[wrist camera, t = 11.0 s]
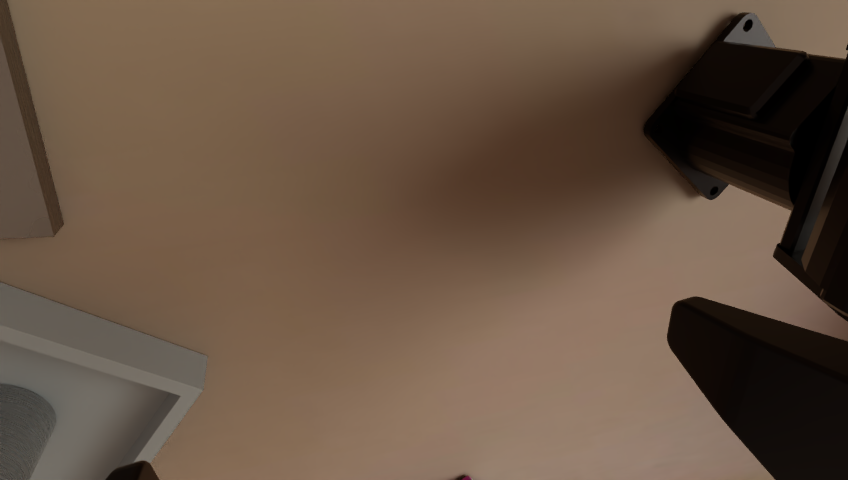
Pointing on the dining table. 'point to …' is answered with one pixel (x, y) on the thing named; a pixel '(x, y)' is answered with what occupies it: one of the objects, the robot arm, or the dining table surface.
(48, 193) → the plate
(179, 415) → the tray
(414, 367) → the dining table surface
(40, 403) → the orange capped tube
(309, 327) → the dining table surface
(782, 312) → the dining table surface
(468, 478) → the candy bar box
